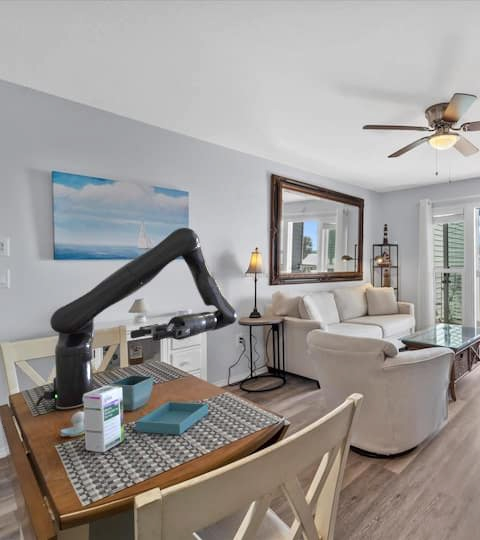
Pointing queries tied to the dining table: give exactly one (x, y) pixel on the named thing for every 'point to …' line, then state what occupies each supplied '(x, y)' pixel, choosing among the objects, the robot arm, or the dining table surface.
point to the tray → (172, 418)
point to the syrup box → (103, 418)
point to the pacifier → (75, 426)
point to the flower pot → (134, 390)
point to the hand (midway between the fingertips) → (142, 335)
